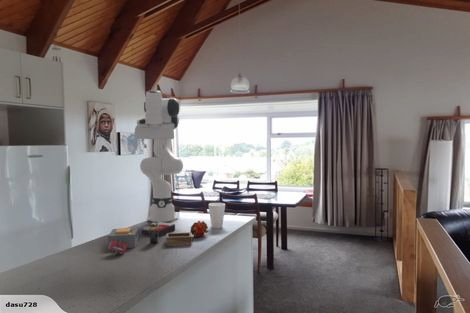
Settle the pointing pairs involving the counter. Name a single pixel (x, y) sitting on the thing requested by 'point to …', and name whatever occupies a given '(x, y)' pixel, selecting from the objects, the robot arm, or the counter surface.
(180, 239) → the box
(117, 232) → the button
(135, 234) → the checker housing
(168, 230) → the calculator
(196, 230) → the dragon fruit
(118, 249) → the geometric puzzle
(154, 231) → the battery cell
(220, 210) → the foam cup
